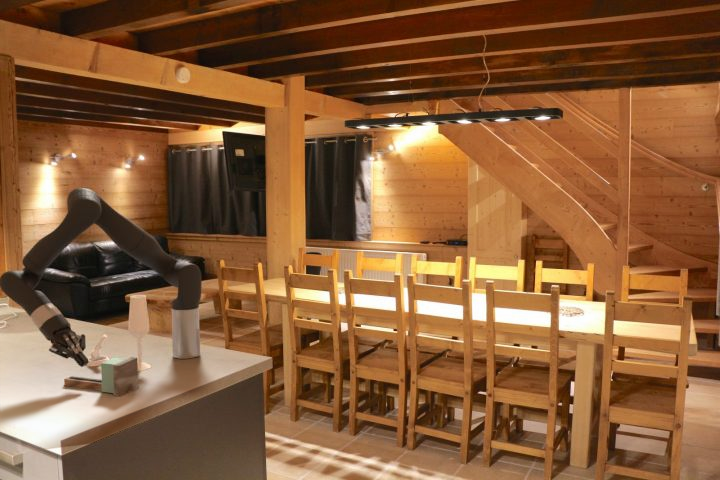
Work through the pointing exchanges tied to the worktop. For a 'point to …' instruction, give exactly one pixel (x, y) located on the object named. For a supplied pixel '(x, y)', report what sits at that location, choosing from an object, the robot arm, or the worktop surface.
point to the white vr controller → (97, 354)
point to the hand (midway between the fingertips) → (85, 364)
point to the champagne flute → (139, 324)
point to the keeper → (109, 374)
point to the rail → (123, 378)
